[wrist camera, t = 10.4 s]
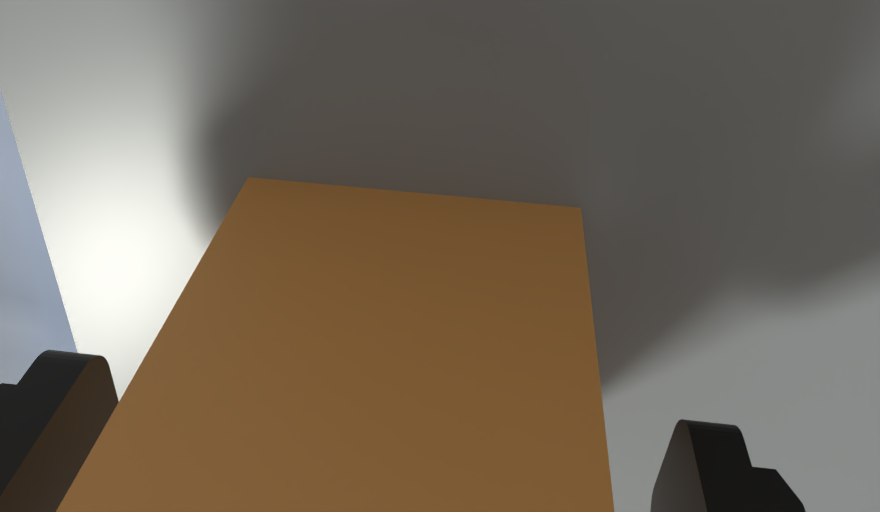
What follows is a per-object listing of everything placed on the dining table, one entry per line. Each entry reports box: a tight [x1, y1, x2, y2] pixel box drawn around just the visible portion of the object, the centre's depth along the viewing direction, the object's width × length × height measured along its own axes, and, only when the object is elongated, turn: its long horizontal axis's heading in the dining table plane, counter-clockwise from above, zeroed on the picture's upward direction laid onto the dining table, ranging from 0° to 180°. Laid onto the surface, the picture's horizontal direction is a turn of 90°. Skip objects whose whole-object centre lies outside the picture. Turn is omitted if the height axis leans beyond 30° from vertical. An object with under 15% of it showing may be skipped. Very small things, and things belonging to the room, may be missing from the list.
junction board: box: [0, 0, 880, 512], centre depth 10 cm, size 22×18×6 cm
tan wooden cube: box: [56, 177, 615, 512], centre depth 11 cm, size 5×5×6 cm
